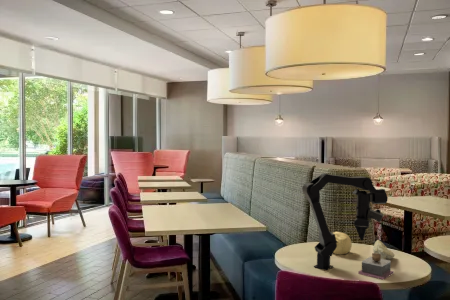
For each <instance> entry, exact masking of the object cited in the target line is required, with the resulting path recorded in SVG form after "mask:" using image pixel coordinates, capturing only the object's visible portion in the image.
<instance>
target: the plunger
mask: <svg viewBox="0 0 450 300" xmlns="http://www.w3.org/2000/svg"><path fill="white" fill-rule="evenodd" d="M371 257H372V260H374V261H376V262H378V261H381V254H379V253H374V252H372V254H371Z"/></svg>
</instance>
